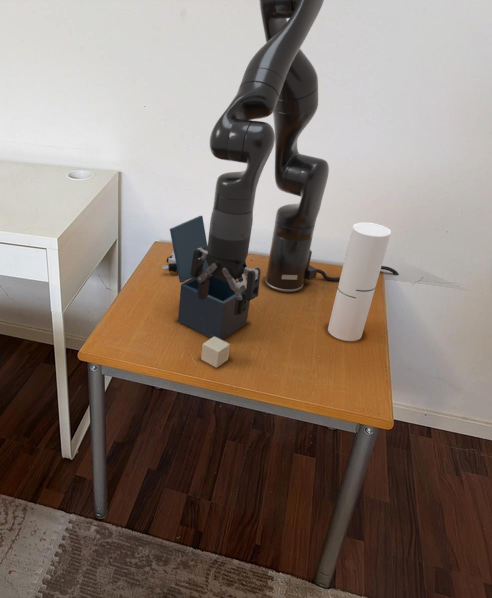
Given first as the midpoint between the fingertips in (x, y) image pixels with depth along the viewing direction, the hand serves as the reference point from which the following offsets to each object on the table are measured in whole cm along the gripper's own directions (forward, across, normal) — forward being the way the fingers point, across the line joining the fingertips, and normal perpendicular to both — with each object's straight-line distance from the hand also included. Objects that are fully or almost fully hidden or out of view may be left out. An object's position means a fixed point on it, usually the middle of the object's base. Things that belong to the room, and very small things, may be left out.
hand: (220, 305), depth 114 cm
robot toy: (+13, +27, -28) cm, 41 cm away
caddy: (+13, +9, -11) cm, 19 cm away
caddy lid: (-4, +16, -11) cm, 20 cm away
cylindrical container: (+13, -14, -29) cm, 35 cm away
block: (+13, 0, 0) cm, 13 cm away
